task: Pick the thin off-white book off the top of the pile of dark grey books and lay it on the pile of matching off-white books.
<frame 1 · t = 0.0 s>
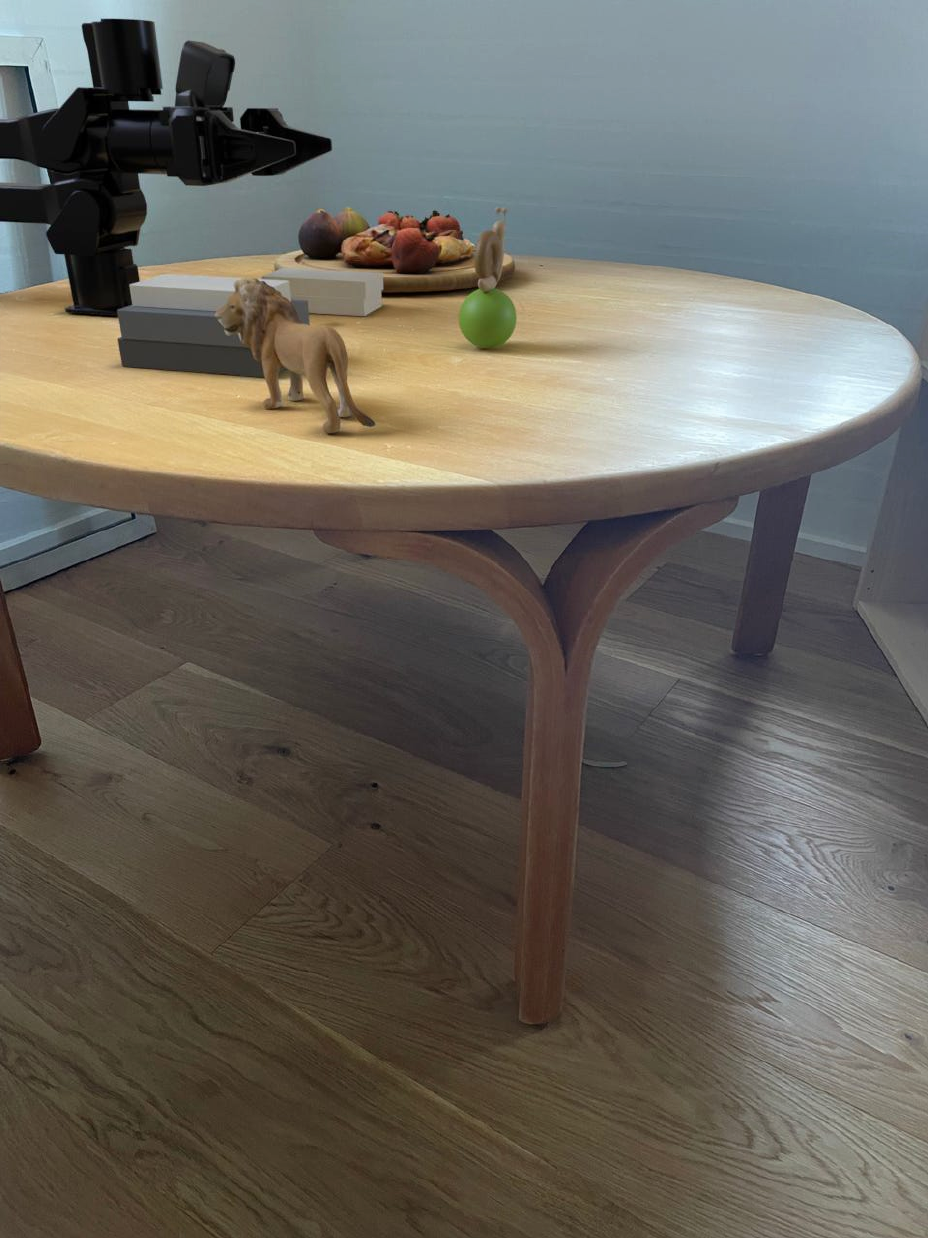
hand: (313, 146, 88), 17 cm above the table, tool horizontal, fingers open, 9 cm apart
wooden plate: (395, 277, 124), on the table
grey books: (219, 359, 82), on the table
white book: (213, 304, 80), point 5 cm above the table, touching grey books
lion figurine: (298, 415, 69), on the table
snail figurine: (488, 348, 88), on the table
white books: (322, 308, 104), on the table
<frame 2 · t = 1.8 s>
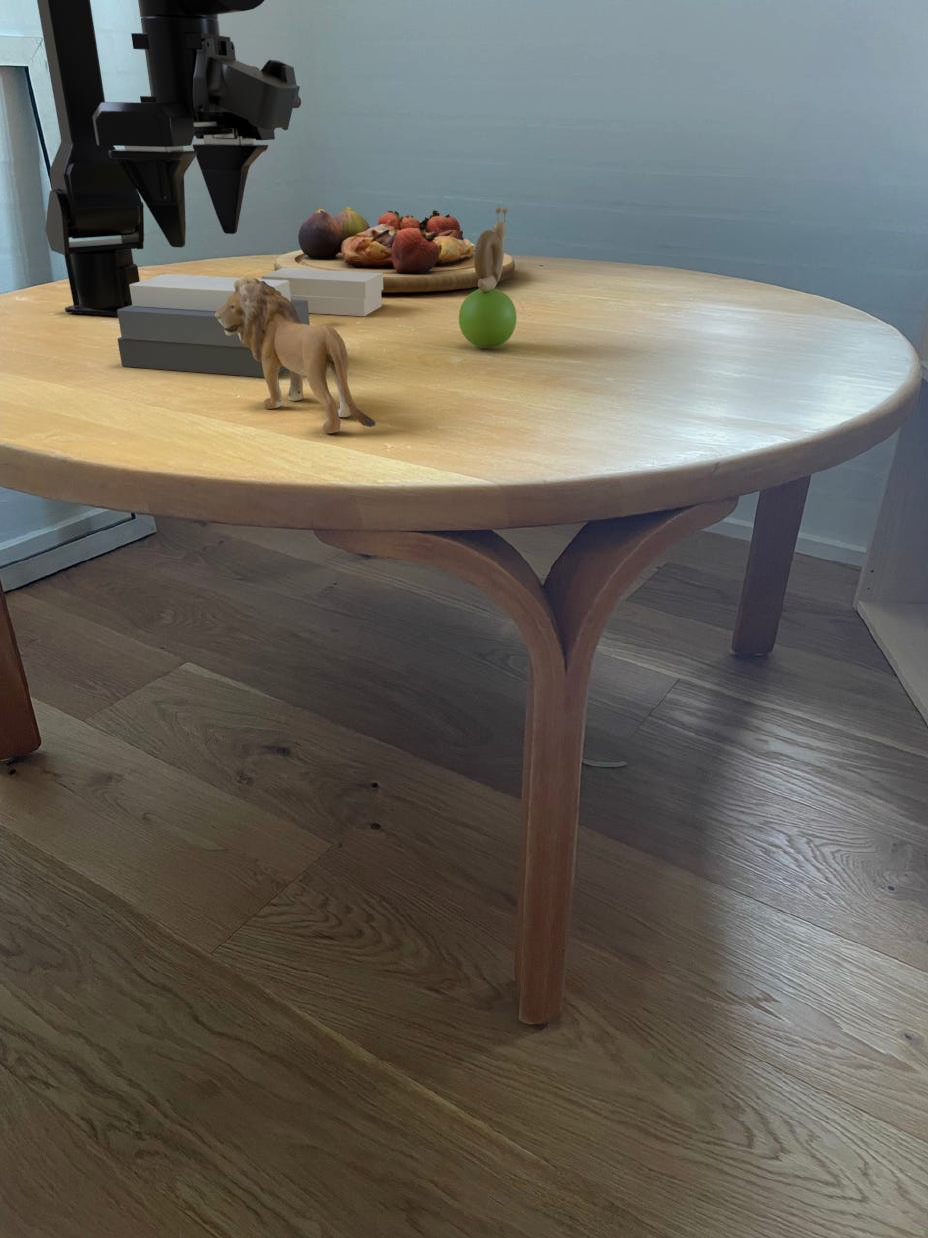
hand: (205, 239, 78), 10 cm above the table, tool pointing down, fingers open, 9 cm apart
nothing on the table moved.
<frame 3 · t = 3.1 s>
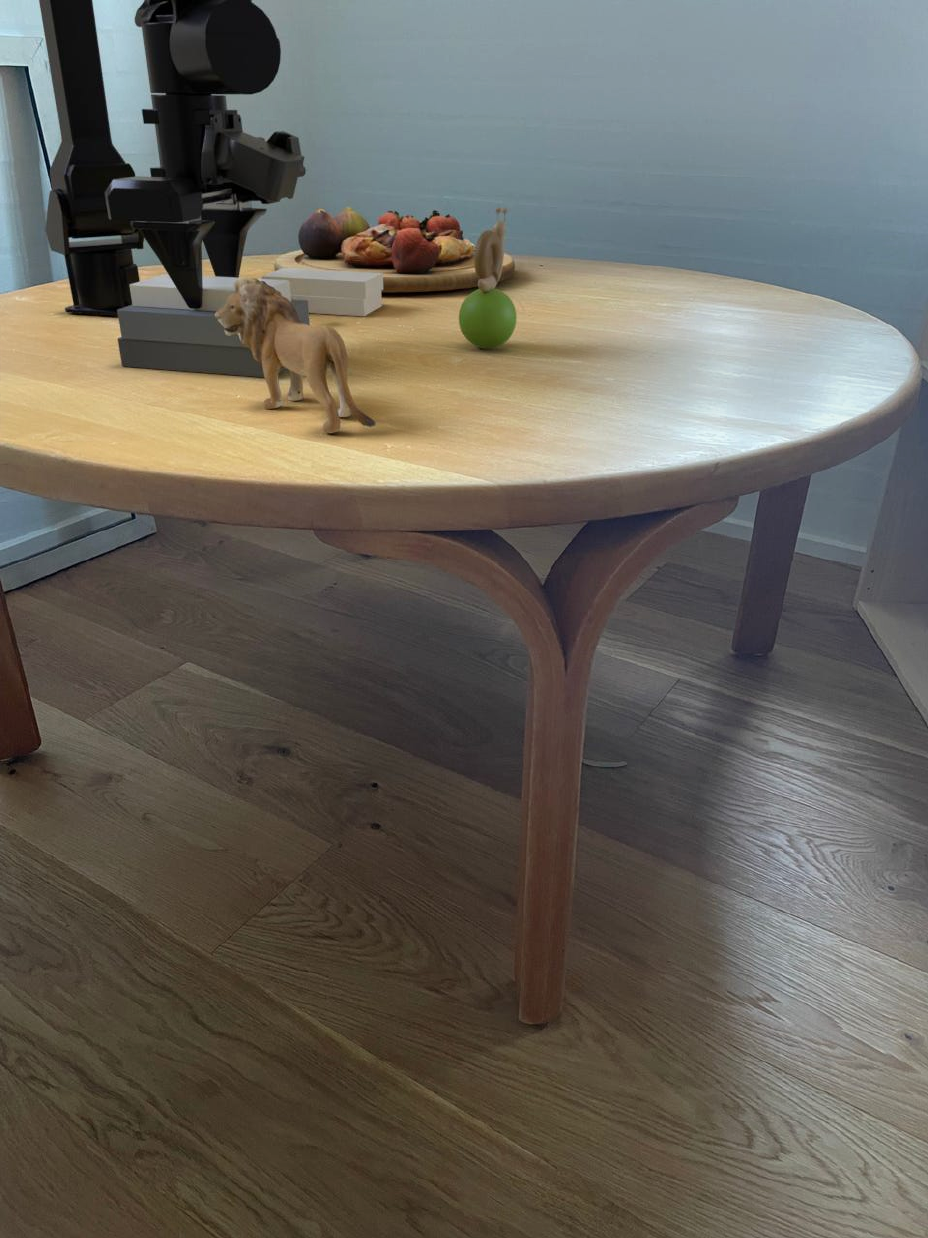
hand: (212, 301, 80), 5 cm above the table, tool pointing down, fingers closed on white book, 6 cm apart
white book: (213, 303, 80), point 5 cm above the table, touching grey books, gripper
everything else where it was.
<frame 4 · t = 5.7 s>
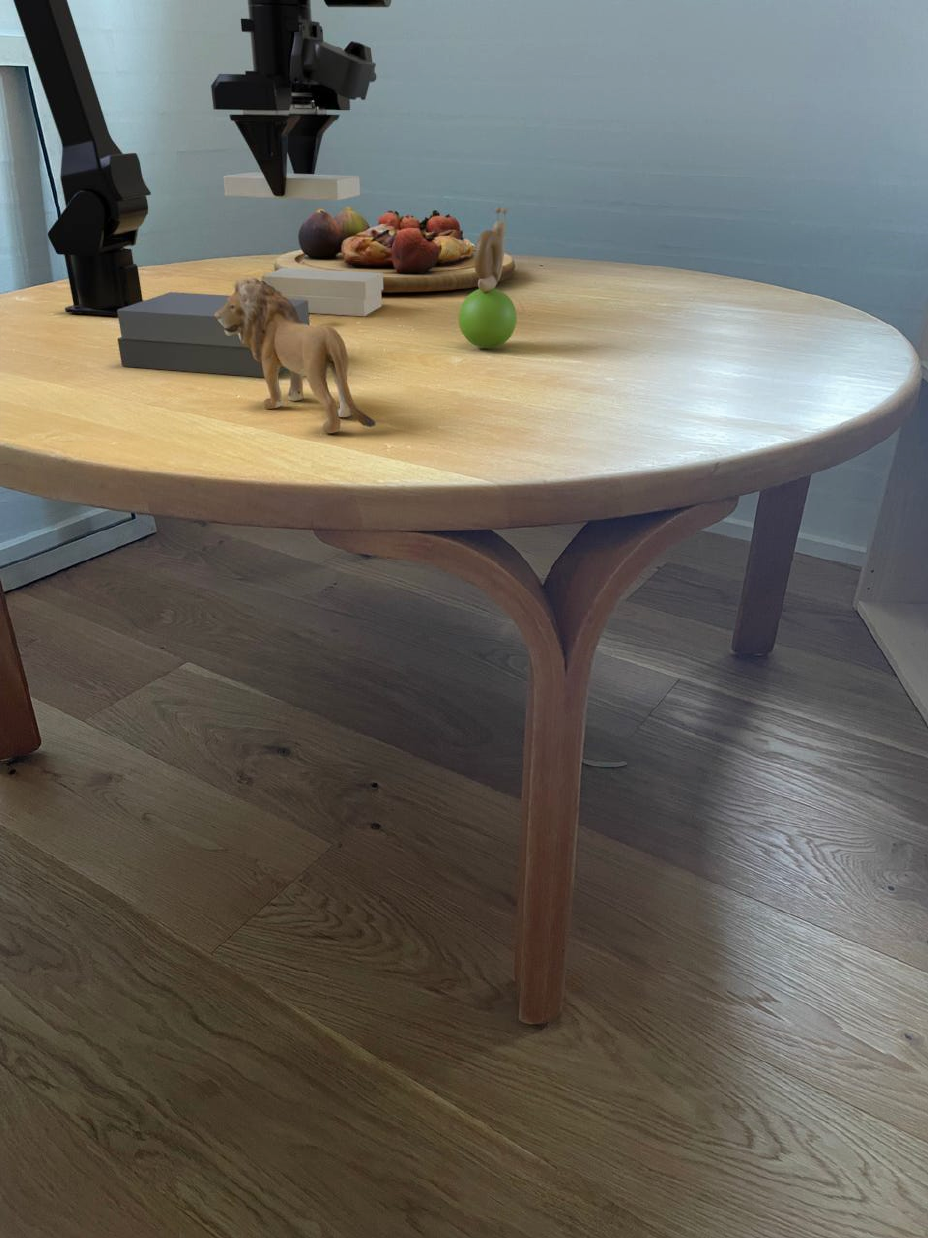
hand: (292, 193, 93), 12 cm above the table, tool pointing down, fingers closed on white book, 6 cm apart
white book: (293, 195, 93), point 12 cm above the table, touching gripper
everything else where it was.
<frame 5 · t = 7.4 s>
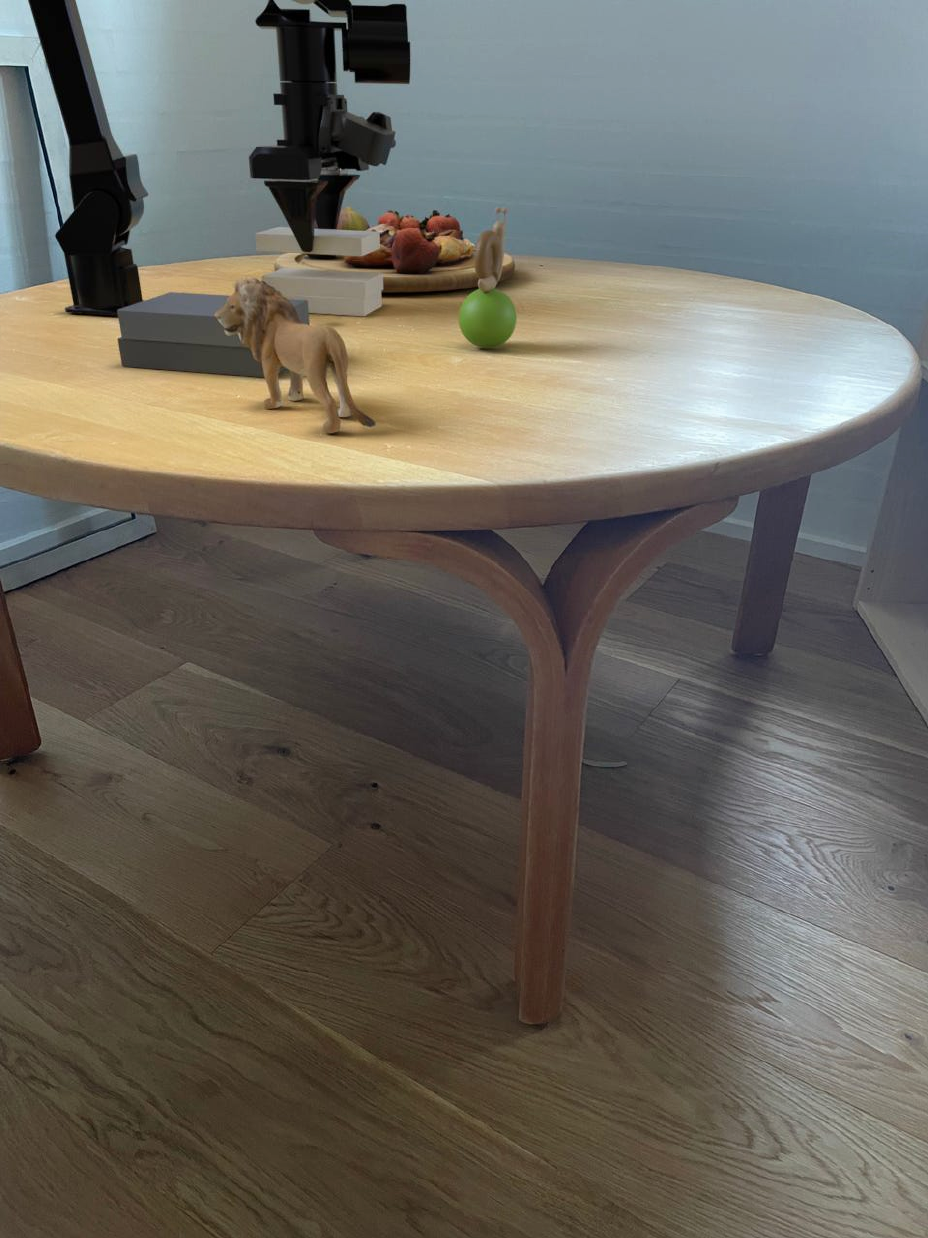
hand: (318, 247, 101), 6 cm above the table, tool pointing down, fingers closed on white book, 6 cm apart
white book: (319, 249, 101), point 6 cm above the table, touching gripper
everything else where it was.
when the fingers open (4 cm above the table, at t = 8.6 s): white book stays where it is, resting on white books.
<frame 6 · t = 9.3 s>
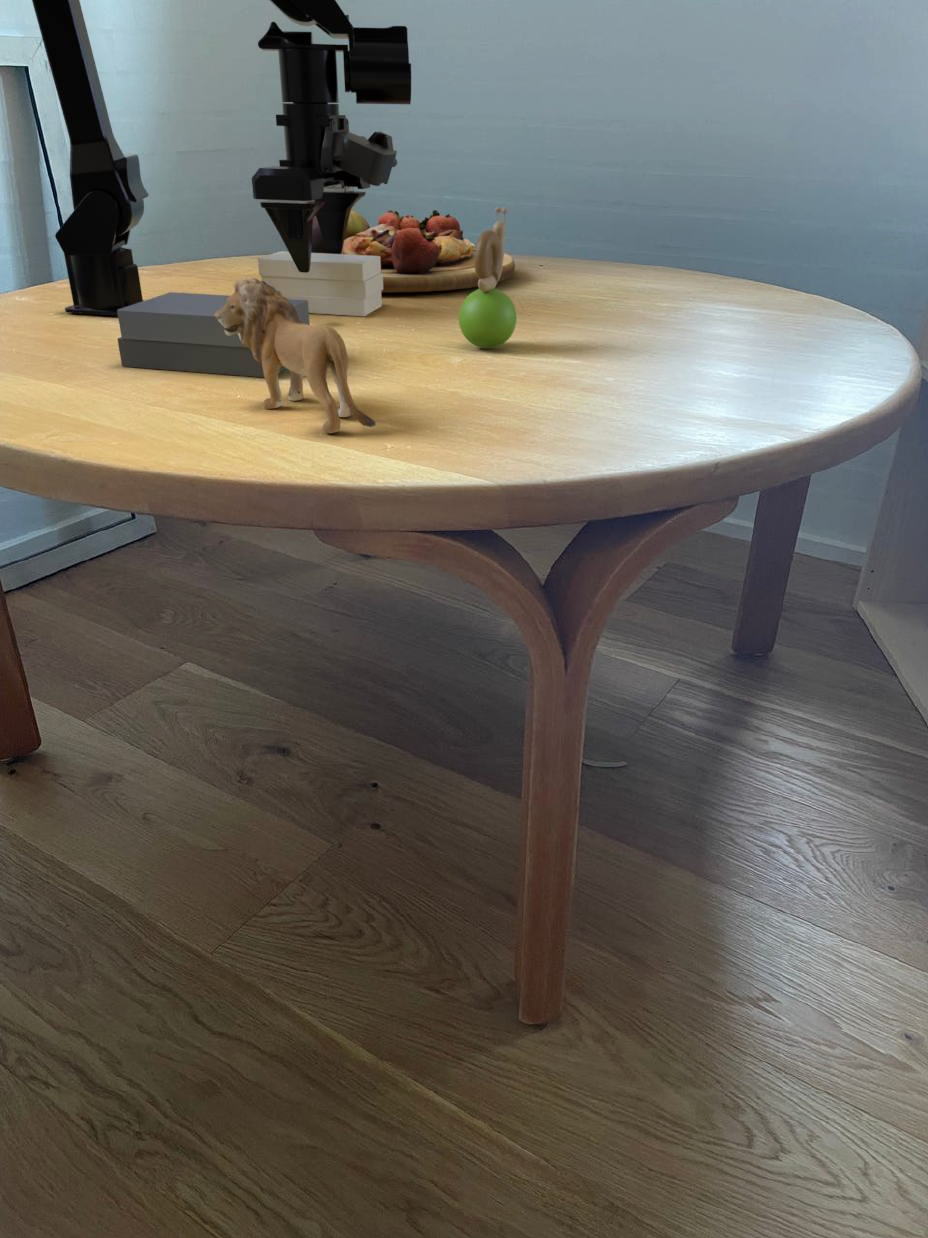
hand: (320, 265, 101), 5 cm above the table, tool pointing down, fingers open, 9 cm apart
white book: (320, 274, 102), point 4 cm above the table, touching white books
everything else where it was.
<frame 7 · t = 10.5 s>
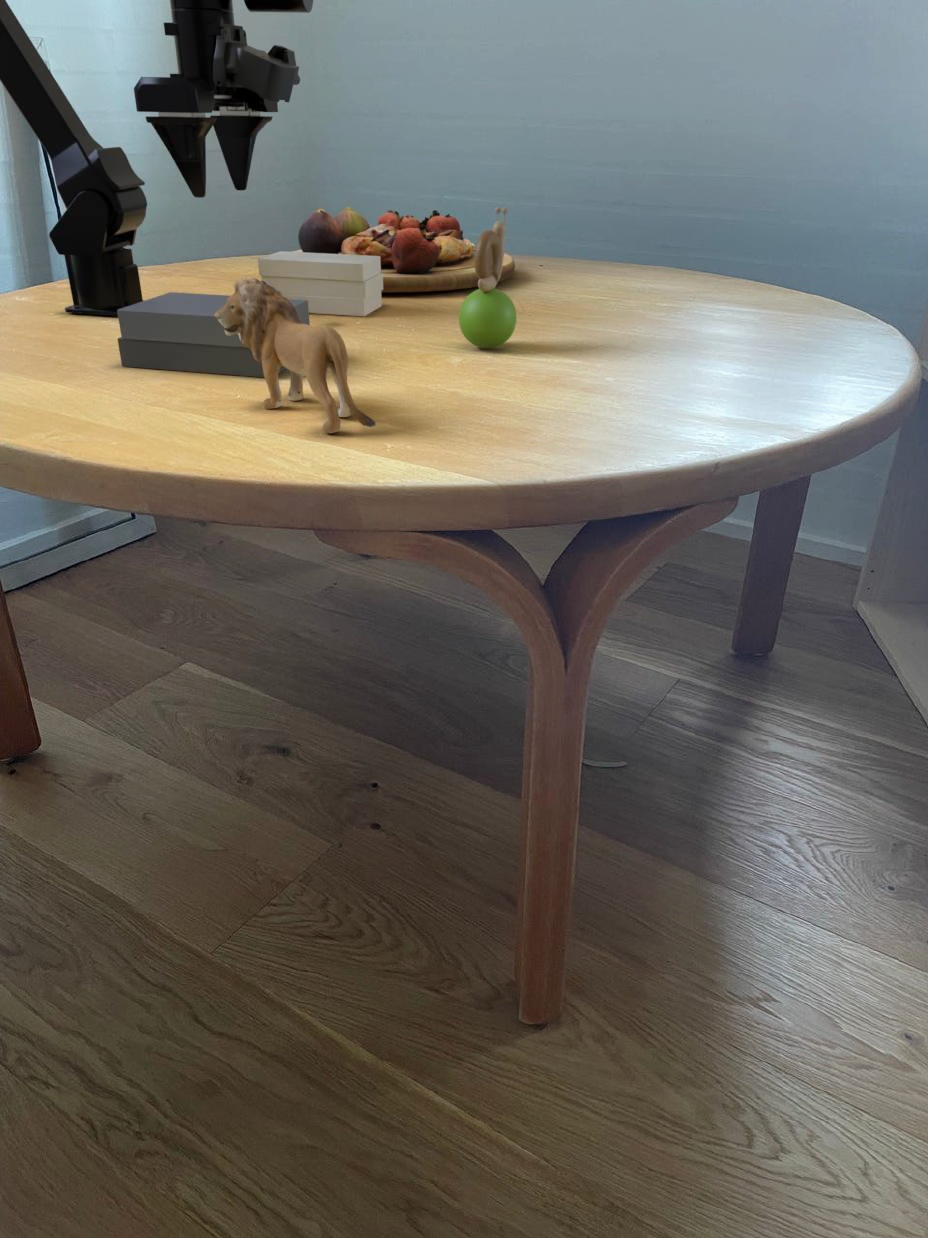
hand: (221, 193, 94), 12 cm above the table, tool pointing down, fingers open, 9 cm apart
nothing on the table moved.
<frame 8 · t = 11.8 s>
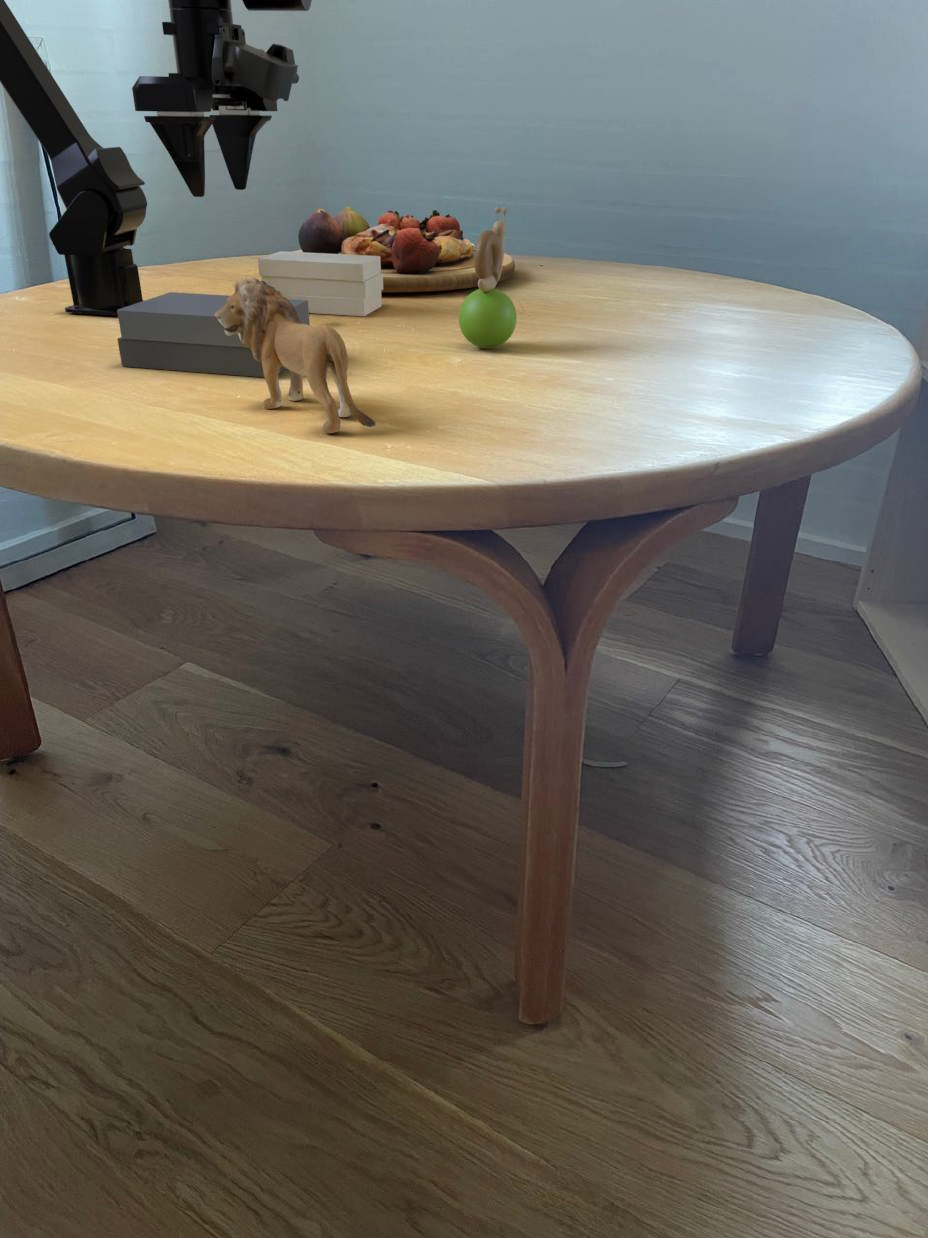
hand: (220, 192, 94), 12 cm above the table, tool pointing down, fingers open, 9 cm apart
nothing on the table moved.
at the end: white book 0.0 cm off-centre on the white books, point 3.6 cm above the white books's base; white book tilted 0°; white book touching white books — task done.
